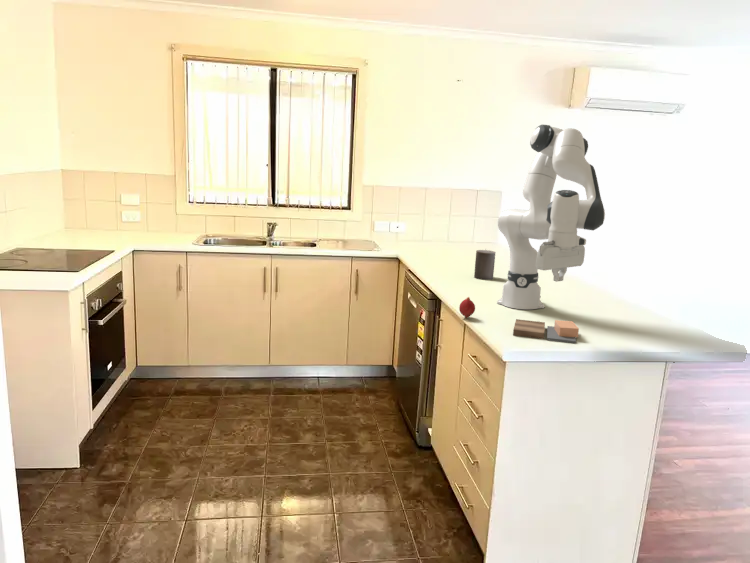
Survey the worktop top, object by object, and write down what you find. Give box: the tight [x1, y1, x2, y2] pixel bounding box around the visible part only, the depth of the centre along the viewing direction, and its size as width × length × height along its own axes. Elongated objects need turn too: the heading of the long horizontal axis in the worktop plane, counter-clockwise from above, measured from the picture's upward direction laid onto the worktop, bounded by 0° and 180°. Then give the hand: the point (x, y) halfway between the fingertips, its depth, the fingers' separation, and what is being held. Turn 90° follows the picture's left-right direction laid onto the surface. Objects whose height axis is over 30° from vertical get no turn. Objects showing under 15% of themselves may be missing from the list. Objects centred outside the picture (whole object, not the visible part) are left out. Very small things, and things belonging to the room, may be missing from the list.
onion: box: [458, 296, 476, 319], centre depth 209 cm, size 6×6×8 cm
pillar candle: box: [473, 249, 496, 281], centre depth 285 cm, size 10×10×15 cm
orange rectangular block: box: [553, 319, 580, 338], centre depth 191 cm, size 9×6×3 cm, turn 173°
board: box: [512, 318, 546, 340], centre depth 195 cm, size 14×10×2 cm
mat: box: [546, 325, 577, 344], centre depth 191 cm, size 15×9×1 cm, turn 163°
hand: (558, 280), depth 189 cm, fingers closed
